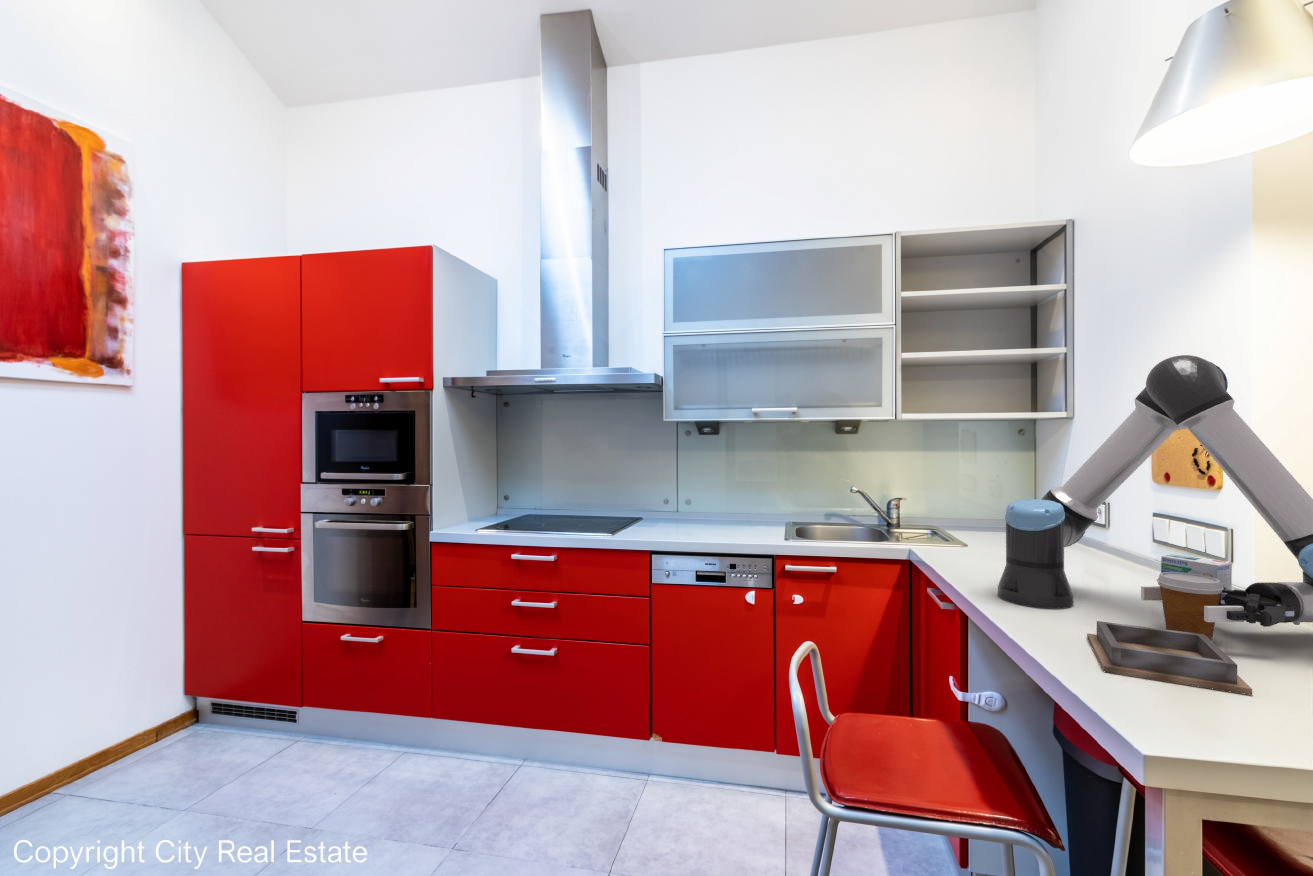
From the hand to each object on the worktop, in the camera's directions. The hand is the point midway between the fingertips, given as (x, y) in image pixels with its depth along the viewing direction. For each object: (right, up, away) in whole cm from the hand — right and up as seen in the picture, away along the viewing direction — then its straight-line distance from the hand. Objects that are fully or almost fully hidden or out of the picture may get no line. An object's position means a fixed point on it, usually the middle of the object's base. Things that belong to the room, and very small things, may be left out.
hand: (1172, 603), depth 111 cm
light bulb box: (+25, -7, +22) cm, 34 cm away
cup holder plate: (-13, -7, -12) cm, 19 cm away
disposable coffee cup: (+3, -7, 0) cm, 8 cm away
